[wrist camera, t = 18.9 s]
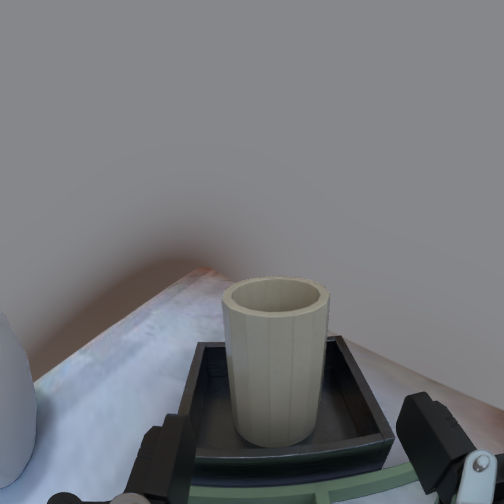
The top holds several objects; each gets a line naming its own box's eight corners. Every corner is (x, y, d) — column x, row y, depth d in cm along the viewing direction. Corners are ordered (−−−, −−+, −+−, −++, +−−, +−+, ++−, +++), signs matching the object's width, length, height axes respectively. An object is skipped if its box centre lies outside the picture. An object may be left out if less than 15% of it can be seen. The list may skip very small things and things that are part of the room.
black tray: (337, 368, 28) (341, 335, 27) (380, 471, 15) (396, 437, 14) (202, 375, 28) (197, 341, 27) (179, 486, 15) (166, 454, 14)
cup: (309, 390, 24) (316, 274, 22) (323, 443, 18) (342, 312, 15) (235, 394, 24) (226, 277, 22) (232, 449, 18) (217, 318, 15)
